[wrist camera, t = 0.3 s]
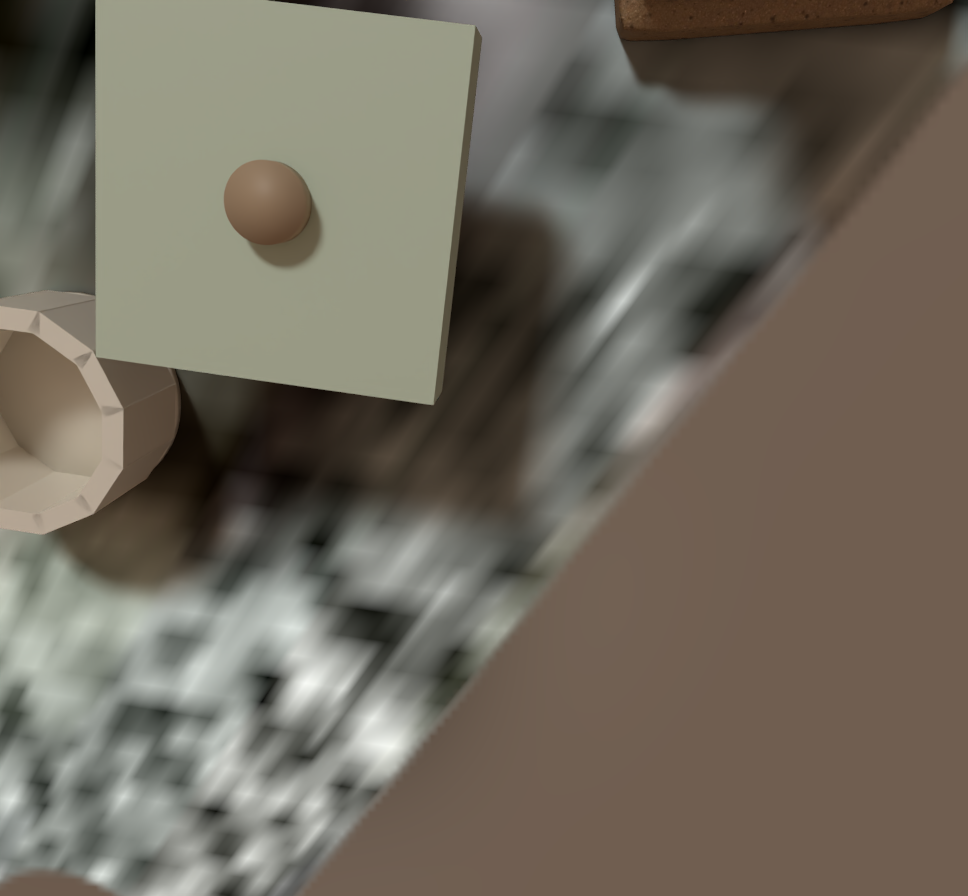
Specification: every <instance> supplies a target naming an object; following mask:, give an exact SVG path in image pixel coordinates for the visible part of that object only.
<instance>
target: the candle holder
mask: <svg viewBox="0 0 968 896" xmlns="http://www.w3.org/2000/svg"><path fill="white" fill-rule="evenodd" d="M614 2H615V18H616V28H617V31H618V34H619V37H620V38H622V39H625V40H628V41H650V40H677V39H690V38H703V37H716V36H728V35H741V34H754V33H767V32H780V31H793V30H806V29H819V28H831V27H844V26H857V25H870V24H881V23H889V22H897V21H904V20H912V19H920V18H923V17H925V16H928V15H930V14H932V13H934V12H936V11H938V10H940V9H942V8H943V7H945V6H947V5H949V4H951V3H952V2H953V0H614Z"/></svg>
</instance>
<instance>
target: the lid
mask: <svg viewBox="0 0 968 896" xmlns="http://www.w3.org/2000/svg"><path fill="white" fill-rule="evenodd" d="M481 43H482V37H481V35H480V33H479V31H478V29H477V27H476V26H475V25H467V24H458V23H450V22H442V21H433V20H425V19H417V18H408V17H400V16H392V15H383V14H375V13H367V12H358V11H350V10H342V9H333V8H325V7H317V6H308V5H300V4H292V3H283V2H275V1H267V0H96V357H99V358H106V359H113V360H120V361H127V362H134V363H141V364H148V365H155V366H162V367H169V368H176V369H183V370H190V371H197V372H204V373H211V374H218V375H225V376H232V377H239V378H246V379H253V380H260V381H267V382H274V383H281V384H288V385H295V386H302V387H309V388H316V389H323V390H330V391H337V392H344V393H351V394H358V395H365V396H372V397H379V398H386V399H393V400H400V401H407V402H414V403H421V404H428V405H434V403H435V402H436V400H437V399H438V397H439V396H440V394H441V392H442V387H443V378H444V369H445V360H446V351H447V343H448V334H449V325H450V316H451V307H452V298H453V290H454V281H455V272H456V263H457V254H458V246H459V237H460V228H461V219H462V210H463V201H464V193H465V184H466V175H467V166H468V157H469V148H470V140H471V131H472V122H473V113H474V104H475V95H476V87H477V78H478V69H479V60H480V51H481Z"/></svg>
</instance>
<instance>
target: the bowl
mask: <svg viewBox="0 0 968 896" xmlns="http://www.w3.org/2000/svg"><path fill="white" fill-rule="evenodd" d="M180 415H181V393H180V387H179V381H178V378H177V375H176V371H175V368H169V367H162V366H155V365H148V364H141V363H134V362H127V361H120V360H113V359H106V358H99V357H96V295H93V294H88V293H84V292H71V291H68V292H58V291H51V290H44V291H38V292H33V293H27V294H22V295H16V296H10V297H5V298H0V528H3V529H10V530H16V531H23V532H29V533H36V534H42V535H44V534H46V533H48V532H51V531H53V530H55V529H58V528H60V527H63V526H65V525H68V524H70V523H73V522H75V521H78V520H80V519H83V518H85V517H88V516H90V515H93V514H95V513H96V512H98V511H99V510H101V509H102V508H104V507H105V506H107V505H108V504H110V503H111V502H113V501H114V500H116V499H117V498H119V497H120V496H122V495H123V494H124V493H126V492H127V491H129V490H130V489H132V488H133V487H135V486H136V485H138V484H139V483H141V482H142V481H144V480H145V479H147V478H148V476H149V475H150V473H151V472H152V470H153V469H154V468H155V467H156V466H157V465H158V464H159V463H160V462H161V461H162V459H163V458H164V457H165V456H166V454H167V453H168V451H169V449H170V448H171V446H172V444H173V442H174V439H175V437H176V434H177V431H178V427H179V423H180Z"/></svg>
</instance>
